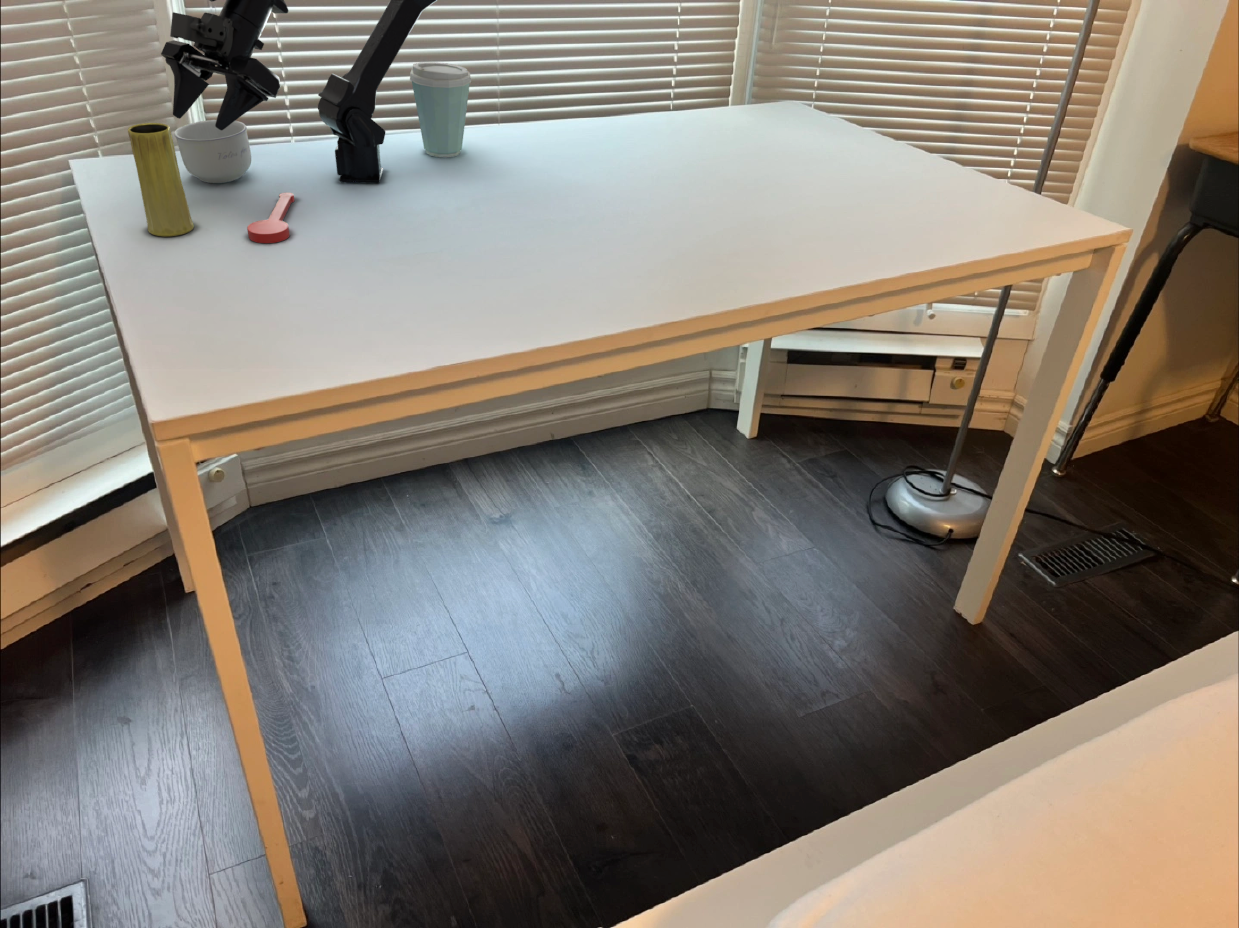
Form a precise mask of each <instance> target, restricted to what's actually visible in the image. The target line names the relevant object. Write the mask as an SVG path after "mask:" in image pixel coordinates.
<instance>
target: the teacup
mask: <svg viewBox="0 0 1239 928" xmlns="http://www.w3.org/2000/svg"><path fill="white" fill-rule="evenodd" d="M216 120H217V119H208V120H200V121H196V122H192V123H191V122H190V123H188V124H185V125H182V126H179V127H178V128H176V129H175V131H174V132H173V135H174V137H175V139H176V143H177V147H178V150H179V153H180V154H179V155H180V157H181V160H182V162H183V165H184V167H185V169H186V171H187V172H188V173H189V174H190V175H192V176H193V177H195V178H197V179H199V180H200V181H201V182H204V183H208V184H223V183H230V182H234V181H237V180H238V179H240V178H242V177H243V176H244V175H245V173H246V172H247V171H248V170H249V168H250V167H251V164H252V151H251V146H250V145H251V144H250V140H249V137H248V131H247V130H248V129H247V125H246V124H245V123H244V122H242V121H238V120H235V121H234V122H233V123H231V124H230V125H229V126H228V127H226V128H225V129H224V130H219V129H218V128H216V127H215V124H216Z"/></svg>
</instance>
